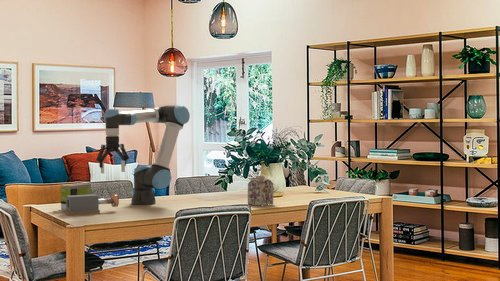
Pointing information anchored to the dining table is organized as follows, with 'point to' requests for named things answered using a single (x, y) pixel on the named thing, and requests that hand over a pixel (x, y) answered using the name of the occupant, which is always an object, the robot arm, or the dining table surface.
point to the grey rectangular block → (110, 201)
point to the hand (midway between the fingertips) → (112, 172)
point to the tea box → (73, 191)
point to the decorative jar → (260, 191)
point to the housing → (82, 205)
